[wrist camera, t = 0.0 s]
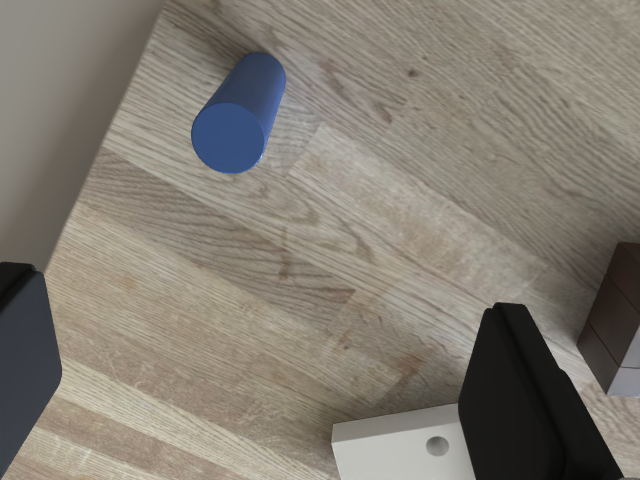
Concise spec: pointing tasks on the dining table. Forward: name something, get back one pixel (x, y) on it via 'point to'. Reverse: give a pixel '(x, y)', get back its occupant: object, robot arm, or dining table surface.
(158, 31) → the dining table surface
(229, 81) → the blue cylinder
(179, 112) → the dining table surface
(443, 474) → the bracket
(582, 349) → the holder
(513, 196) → the dining table surface
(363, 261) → the dining table surface
